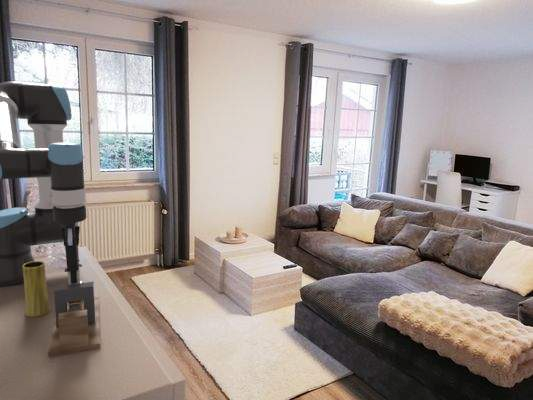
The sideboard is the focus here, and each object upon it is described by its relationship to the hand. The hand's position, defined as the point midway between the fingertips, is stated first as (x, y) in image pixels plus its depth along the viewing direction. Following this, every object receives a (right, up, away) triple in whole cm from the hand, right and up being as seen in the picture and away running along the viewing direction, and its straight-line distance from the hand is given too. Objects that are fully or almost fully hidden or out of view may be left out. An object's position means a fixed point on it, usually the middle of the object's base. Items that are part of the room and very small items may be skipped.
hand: (75, 292), depth 104 cm
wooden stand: (-1, -9, +2) cm, 9 cm away
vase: (-15, -8, +8) cm, 18 cm away
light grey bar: (0, -4, +1) cm, 4 cm away
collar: (+1, -7, -1) cm, 8 cm away
